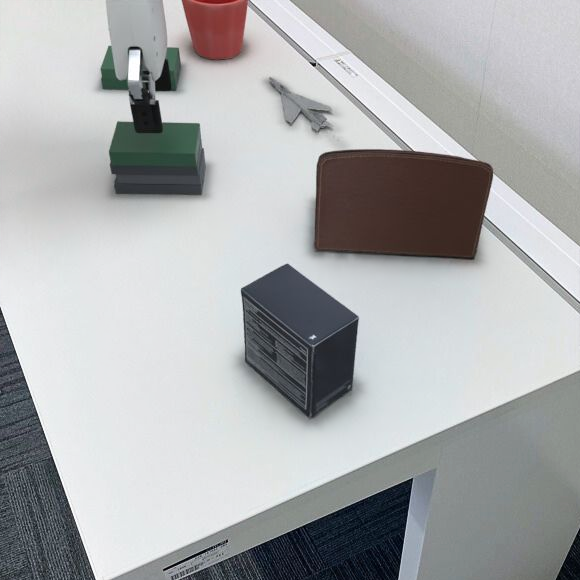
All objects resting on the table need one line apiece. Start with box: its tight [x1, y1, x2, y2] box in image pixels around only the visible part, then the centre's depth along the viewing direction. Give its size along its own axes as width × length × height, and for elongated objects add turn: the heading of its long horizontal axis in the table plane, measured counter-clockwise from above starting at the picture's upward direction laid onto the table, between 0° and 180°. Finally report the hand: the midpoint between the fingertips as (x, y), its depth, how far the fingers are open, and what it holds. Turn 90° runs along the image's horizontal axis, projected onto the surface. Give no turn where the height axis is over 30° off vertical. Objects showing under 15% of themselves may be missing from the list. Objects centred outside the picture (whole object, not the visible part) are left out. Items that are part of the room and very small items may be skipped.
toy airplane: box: [268, 76, 339, 142], centre depth 114 cm, size 8×21×2 cm, turn 33°
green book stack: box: [100, 45, 182, 92], centre depth 118 cm, size 11×8×3 cm
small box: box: [240, 263, 360, 419], centre depth 76 cm, size 11×6×10 cm, turn 44°
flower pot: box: [181, 0, 249, 61], centre depth 124 cm, size 11×11×10 cm
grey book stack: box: [109, 139, 207, 196], centre depth 100 cm, size 11×6×4 cm, turn 93°
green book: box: [108, 121, 202, 167], centre depth 98 cm, size 10×7×2 cm, turn 93°
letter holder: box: [313, 148, 494, 260], centre depth 92 cm, size 10×20×14 cm, turn 90°
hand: (154, 110), depth 94 cm, fingers open, 9 cm apart
